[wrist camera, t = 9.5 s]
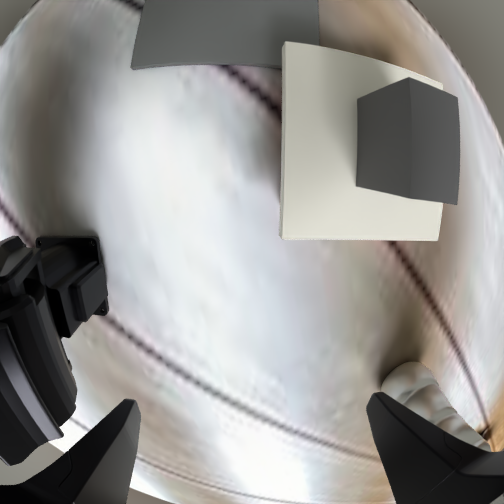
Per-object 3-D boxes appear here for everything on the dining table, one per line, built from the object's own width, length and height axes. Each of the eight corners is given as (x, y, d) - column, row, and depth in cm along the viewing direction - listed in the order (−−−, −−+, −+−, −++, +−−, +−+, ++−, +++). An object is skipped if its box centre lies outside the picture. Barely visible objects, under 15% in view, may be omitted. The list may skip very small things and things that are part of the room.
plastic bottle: (377, 404, 26) (443, 531, 7) (369, 373, 24) (457, 527, 5) (421, 378, 26) (500, 490, 7) (420, 343, 24) (525, 471, 5)
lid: (279, 235, 15) (307, 276, 10) (281, 48, 12) (309, -7, 6) (429, 237, 16) (488, 265, 10) (433, 86, 13) (493, 72, 7)
